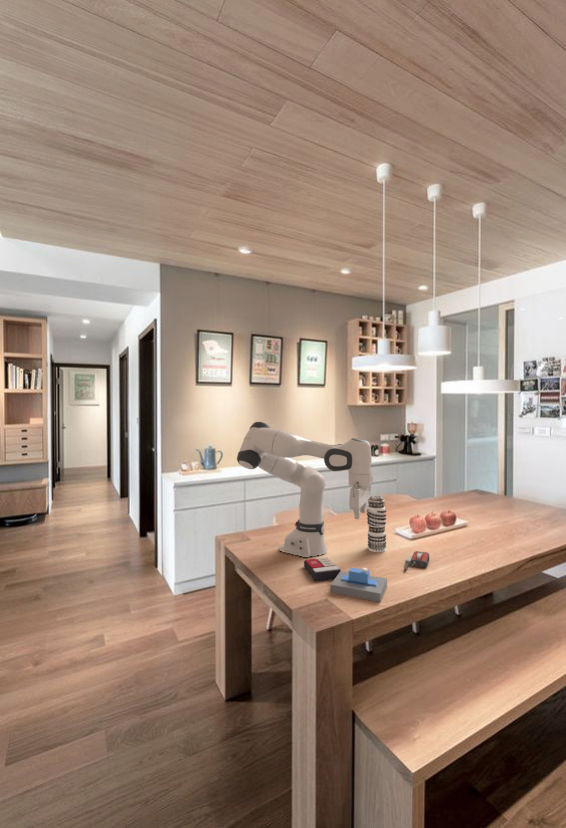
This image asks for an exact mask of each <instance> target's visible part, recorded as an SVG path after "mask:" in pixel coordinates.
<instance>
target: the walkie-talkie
mask: <svg viewBox="0 0 566 828" xmlns="http://www.w3.org/2000/svg"><path fill="white" fill-rule="evenodd" d="M429 561H430V553H428V552H427V551H419V550H416V551H414V552H413V554H412V556H411V555H410V556H406V559H405V562H404V563H405V565H404V568H403V571H407V570H408V567H409V566H410V567H416V568H421V569H427V568H428V565H429Z"/></svg>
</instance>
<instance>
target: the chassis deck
mask: <svg viewBox="0 0 566 828" xmlns="http://www.w3.org/2000/svg"><path fill="white" fill-rule="evenodd" d="M343 575H346V576H349V571H344V570H341V571H340V572H339V574H338V575H337V577H336V578H335V579H334V580H333V581H332V582H331V583H330V593H331V594H336V595H341V596H346V597H352V598H356V599H363V600H368V601H373V602H377V603H378V602H379V603H381V601H382V599H383V597H384V594H385V592H386V590H387V588H388V578H387V577H381V576H380V577H379V576H374V575H370V580H376V581H378V583H377V585H376V586H371V585H369V586H365V585H359V584H354V583H349V582H347V581H341V578H342V577H343Z"/></svg>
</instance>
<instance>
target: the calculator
mask: <svg viewBox="0 0 566 828" xmlns="http://www.w3.org/2000/svg"><path fill="white" fill-rule="evenodd" d="M304 567H305V568H304ZM303 568H304V569H305V571H306V570H307V571H308V572H307V571H306V572H307V573H308V574H309V575H310V577H311V578H313V579H312V580H313V581H314V582H315V583H318V582H324V581H331V580H333V581H334V579H335V578H336V577H337V575H338V574H339V572H340V571H342V569H341V568H339V567H338V566H337V565H336V563H334V562H333V561H332V560H331V559H330V558H328V557H326V556H325V557H319V558H309V559H308V558H307V559H305V560H304V561H303ZM317 581H318V582H317Z"/></svg>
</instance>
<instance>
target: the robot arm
mask: <svg viewBox="0 0 566 828" xmlns="http://www.w3.org/2000/svg"><path fill="white" fill-rule="evenodd" d="M371 448H372V447H371V445H370V442H369V441H368V440H365V439H362V438H359V437H358V438H356V437H352V438H350V439H348V441H345V442H344V443H338V444H328V443H323V442H318V441H313V440H310V439H307V438H305V437H301V436H299V435H296V434H294V433H292V432H288V431H285V430H282V429H278V428H272V427H271V426H270V425H269V424H267V423H265V422H262V421H254V422H253V423H252V424H251V426H250V427H249V430H248V431H247V433H246V435H245V436H244V438H243V441H242V443H241V446H240V448H239V451H238V453H237V457H236V460H237V461H236V462H237V463H238V465H240V466H241V467H243V468H244V469H248V470H255V469H257V468H259V469H261V470H262V471H265V472H266V473H268V474H270V475H272V476H274V477H276V478H278V479H280V480H282V481H284V482H287V483H290V484H292V485H294V486H297V487H299V488H300V498H299V503H298V505H299V506H298V509H299V510H298V511H299V513H298V514H299V519H297V521H296V522H295V523H294V527H295V528H294V529H293V530H292V531H290V532H289V533H288V534H286V536H285V538H284V540H283V543H282V544H281V545H280V546H279V549H280V550H281V551H284V552H287V553H291V554H295V555H299V556H302V557H301V558H303V557H308V558H311V557H310V556H312V557H318V556H317V555H319V556H323V555H324V554H326V553H327V552H328V550H327V546H326V542H325V536H324V533H325V521H324V520H323V519H324V517H323V516H324V515H323V513H324V512H323V511H324V509H323V507H324V504H323V503H324V497H325V487H326V480H325V477H324V475H323V474H321V473H320V472H319V471H318V470H316V469H315V468H313V467H311V466H309V465H307V464H306V463H303V462H301V461H299V460H297V459H294V458H295V457H301V456H308V457H309V456H310V457H314V458H319V459H323V462H324V465H325V467H326V468H327V469H328V470H330V471H332V472H342V471H348V485H349V486H351V487H350V490H349V497H348V498H349V503H348V504H349V505H348V506H349V509H350V510H352V511H353V514H354V520H360V519H361V514H365V513H366V508H367V507H366V506H367V502H368V499H369V498H370V497H371V490H372V489H371V488H372V482H373V476H372V475H373V474H372V473H373V472H372V469H371V468H372V466H371V465H372V459H373V458H372V449H371ZM360 513H361V514H360ZM287 553H286V554H287ZM291 554H290V555H291ZM322 554H323V555H322ZM295 555H294V556H295ZM299 556H298V557H299Z"/></svg>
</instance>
